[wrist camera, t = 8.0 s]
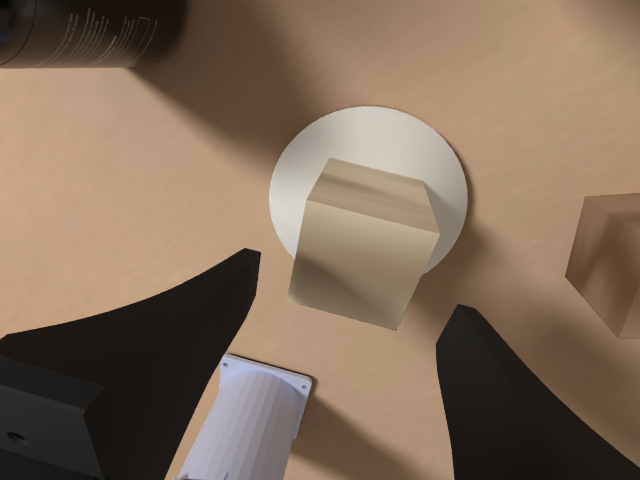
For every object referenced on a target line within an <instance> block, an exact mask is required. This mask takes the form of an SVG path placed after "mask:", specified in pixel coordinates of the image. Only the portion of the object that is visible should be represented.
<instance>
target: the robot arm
mask: <svg viewBox="0 0 640 480" xmlns="http://www.w3.org/2000/svg"><path fill="white" fill-rule="evenodd" d="M260 257H261V252H258V251H255V250H251V249H247V248H244V249H242V250H241V251H239V252H237V253H235V254H234V255H232V256H230V257H229V258H227V259H226V260H224V261H222V262H221V263H219V264H217V265H216V266H214V267H212V268H210V269H209V270H207V271H205V272H203V273H202V274H200V275H198V276H196V277H194V278H192V279H190V280H188V281H186V282H184V283H182V284H180V285H178V286H176V287H174V288H172V289H169V290H167V291H165V292H162V293H160V294H157V295H155V296H152V297H150V298H147V299H145V300H142V301H139V302H136V303H133V304H130V305H127V306H124V307H121V308H118V309H115V310H112V311H109V312H105V313H102V314H98V315H94V316H91V317H87V318H83V319H79V320H75V321H71V322H67V323H62V324H58V325H53V326H48V327H43V328H38V329H33V330H28V331H23V332H18V333H12V334H7V335H6V336H4V337H3V338H1V339H0V480H164V479H165V477H166V474H167V472H168V470H169V467H170V465H171V463H172V460H173V458H174V456H175V454H176V451H177V449H178V447H179V444H180V442H181V440H182V438H183V435H184V433H185V431H186V429H187V427H188V424H189V422H190V420H191V418H192V416H193V414H194V411H195V409H196V407H197V405H198V403H199V401H200V399H201V397H202V394H203V392H204V390H205V388H206V386H207V384H208V382H209V380H210V378H211V376H212V374H213V373H214V371H215V369H216V367H217V366H218V364H219V362H220V361H221V363H220V382H219V393H218V395H217V397H216V399H215V401H214V404H213V406H212V408H211V410H210V412H209V414H208V416H207V418H206V420H205V422H204V424H203V426H202V428H201V430H200V432H199V434H198V436H197V438H196V440H195V442H194V444H193V446H192V448H191V450H190V452H189V454H188V456H187V458H186V460H185V462H184V464H183V466H182V468H181V470H180V473H179V475H178V477H177V478H174V479H173V480H283V479H284V475H285V470H286V466H287V462H288V458H289V454H290V449H291V445H292V441H293V440H294V439H296V437H297V433H298V430H299V426H300V423H301V420H302V416H303V413H304V409H305V406H306V403H307V399H308V396H309V392H310V389H311V386H312V379H311V378H310V377H308V376H304V375H301V374H297V373H294V372H290V371H287V370H283V369H280V368H276V367H272V366H269V365H265V364H262V363H258V362H255V361H251V360H248V359H244V358H240V357H237V356H233V355H230V354H225V352H226V351H227V349H228V347H229V346H230V344H231V342H232V341H233V339H234V337H235V336H236V334H237V332H238V331H239V329H240V327H241V325H242V324H243V322H244V320H245V319H246V317H247V314H248V312H249V310H250V308H251V305H252V303H253V301H254V298H255V296H256V290H257V281H258V273H259V265H260ZM436 360H437V372H438V378H439V384H440V389H441V394H442V399H443V404H444V410H445V415H446V420H447V425H448V430H449V435H450V442H451V448H452V457H453V468H454V479H455V480H640V468H639V467H638V466H637V465H635V464H634V463H633V462H631V461H630V460H629V459H628V458H626V457H625V456H624V455H623V454H621V453H620V452H619V451H618V450H616V449H615V448H614V447H613V446H612V445H610V444H609V443H608V442H607V441H606V440H604V439H603V438H602V437H601V436H600V435H598V434H597V433H596V432H595V431H594V430H592V429H591V428H590V427H589V426H588V425H587V424H586V423H584V422H583V421H582V420H581V419H580V418H579V417H578V416H577V415H576V414H575V413H573V412H572V411H571V410H570V409H569V408H568V407H567V406H566V405H565V404H564V403H563V402H562V401H561V400H559V399H558V398H557V397H556V396H555V395H554V394H553V393H552V392H551V391H550V390H549V389H548V388H547V387H546V386H545V385H544V384H543V383H542V382H541V381H540V380H539V378H538V377H537V376H536V375H535V374H534V373H533V372H532V371H531V370H530V369H529V368H528V367H527V366H526V365H525V364H524V363H523V361H522V360H521V359H520V358H519V357H518V356H517V355H516V354H515V353H514V351H513V350H512V349H511V348H510V347H509V346H508V345H507V343H506V342H505V341H504V340H503V339H502V338H501V336H500V335H499V334H498V333H497V332H496V331H495V330H494V328H493V327H492V326H491V325H490V324H489V323H488V322H487V320H486V319H485V318H484V317H483V316H482V315H481V314H480V313H479V312H478V311H477V310H476V309H475V308H472V307H468V306H464V305H460V304H458V305H457V307H456V308H455V310H454V312H453V314H452V316H451V317H450V319H449V321H448V323H447V325H446V326H445V328H444V330H443V332H442V334H441V335H440V337H439V339H438V341H437V343H436Z"/></svg>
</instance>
